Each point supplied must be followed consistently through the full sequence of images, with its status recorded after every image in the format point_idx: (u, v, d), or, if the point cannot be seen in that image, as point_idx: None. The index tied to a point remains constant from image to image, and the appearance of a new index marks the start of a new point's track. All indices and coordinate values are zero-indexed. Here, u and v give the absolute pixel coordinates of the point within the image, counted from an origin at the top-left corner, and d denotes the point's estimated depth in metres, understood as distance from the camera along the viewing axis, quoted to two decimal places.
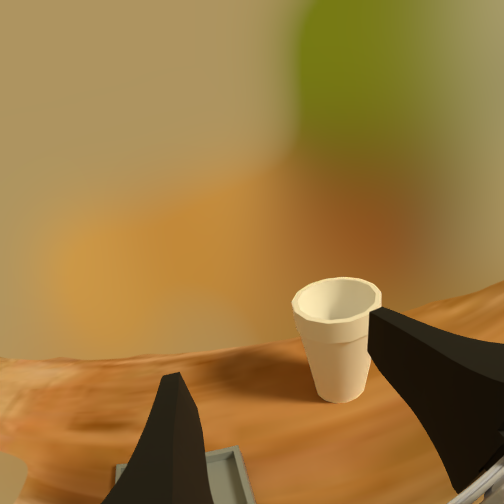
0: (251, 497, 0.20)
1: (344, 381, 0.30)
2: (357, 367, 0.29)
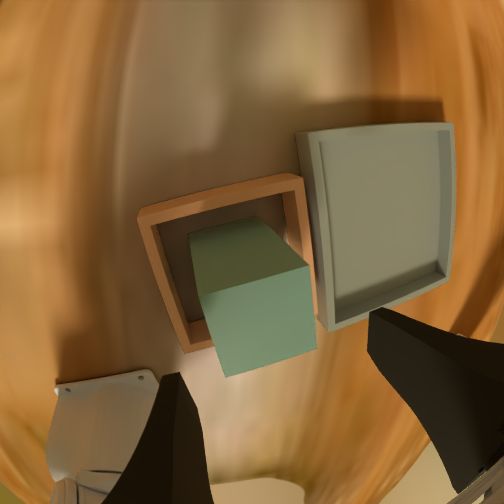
0: (394, 305, 0.22)
1: None
2: None
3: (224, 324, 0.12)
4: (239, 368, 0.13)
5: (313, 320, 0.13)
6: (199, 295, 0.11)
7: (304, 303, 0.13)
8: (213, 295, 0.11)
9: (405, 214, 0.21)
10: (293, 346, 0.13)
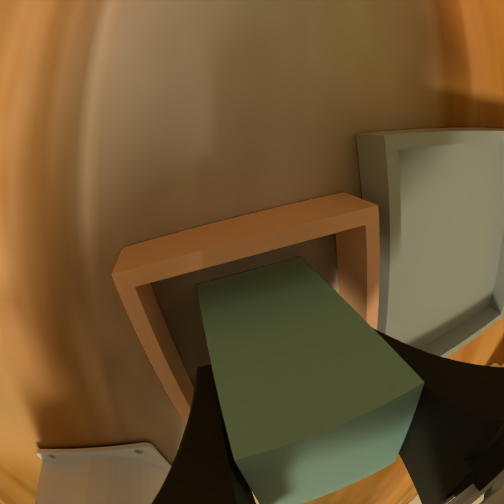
0: (450, 353, 0.16)
1: None
2: None
3: (276, 478, 0.06)
4: None
5: (402, 440, 0.07)
6: (236, 457, 0.05)
7: (399, 427, 0.06)
8: (262, 455, 0.05)
9: (472, 244, 0.15)
10: (367, 470, 0.07)
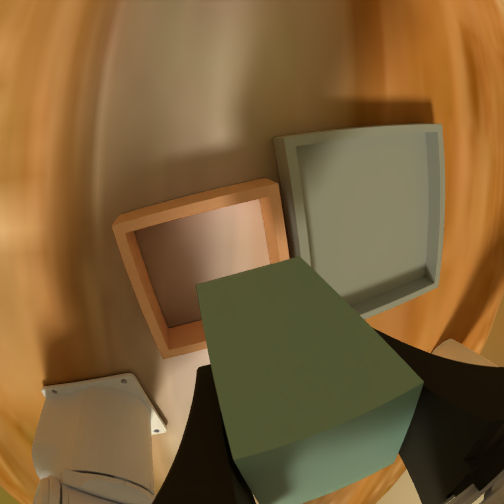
0: (379, 312, 0.22)
1: None
2: None
3: (275, 478, 0.06)
4: None
5: (402, 440, 0.07)
6: (235, 457, 0.05)
7: (399, 427, 0.06)
8: (262, 454, 0.05)
9: (391, 219, 0.21)
10: (366, 470, 0.07)
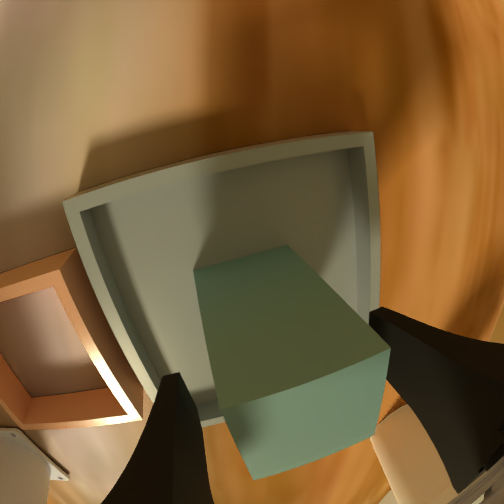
0: None
1: (388, 463, 0.21)
2: (391, 483, 0.19)
3: (259, 435, 0.07)
4: (274, 470, 0.08)
5: (378, 409, 0.08)
6: (221, 406, 0.06)
7: (372, 394, 0.08)
8: (245, 406, 0.06)
9: None
10: (347, 439, 0.08)
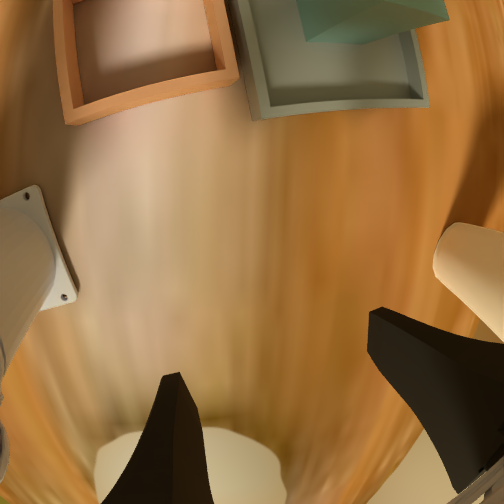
0: (357, 107, 0.16)
1: (464, 268, 0.21)
2: (473, 293, 0.20)
3: None
4: None
5: None
6: None
7: None
8: None
9: None
10: (432, 4, 0.08)
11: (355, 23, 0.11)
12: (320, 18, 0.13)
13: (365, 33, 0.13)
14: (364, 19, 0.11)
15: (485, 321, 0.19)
